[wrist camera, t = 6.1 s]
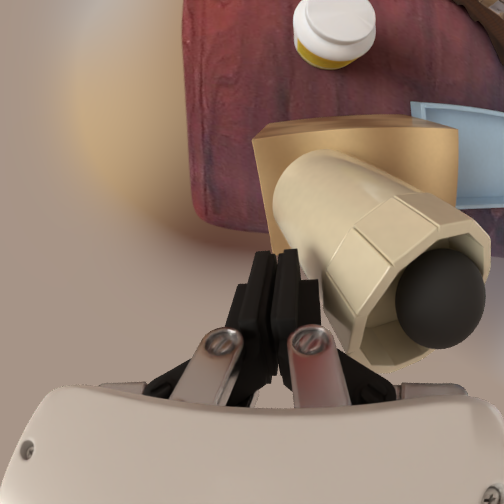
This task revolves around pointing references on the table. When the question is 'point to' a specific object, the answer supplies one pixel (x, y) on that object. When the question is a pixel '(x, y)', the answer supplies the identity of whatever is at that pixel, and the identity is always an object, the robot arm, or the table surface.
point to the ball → (440, 298)
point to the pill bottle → (333, 31)
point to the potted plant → (488, 20)
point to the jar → (367, 246)
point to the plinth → (361, 152)
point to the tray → (473, 151)
